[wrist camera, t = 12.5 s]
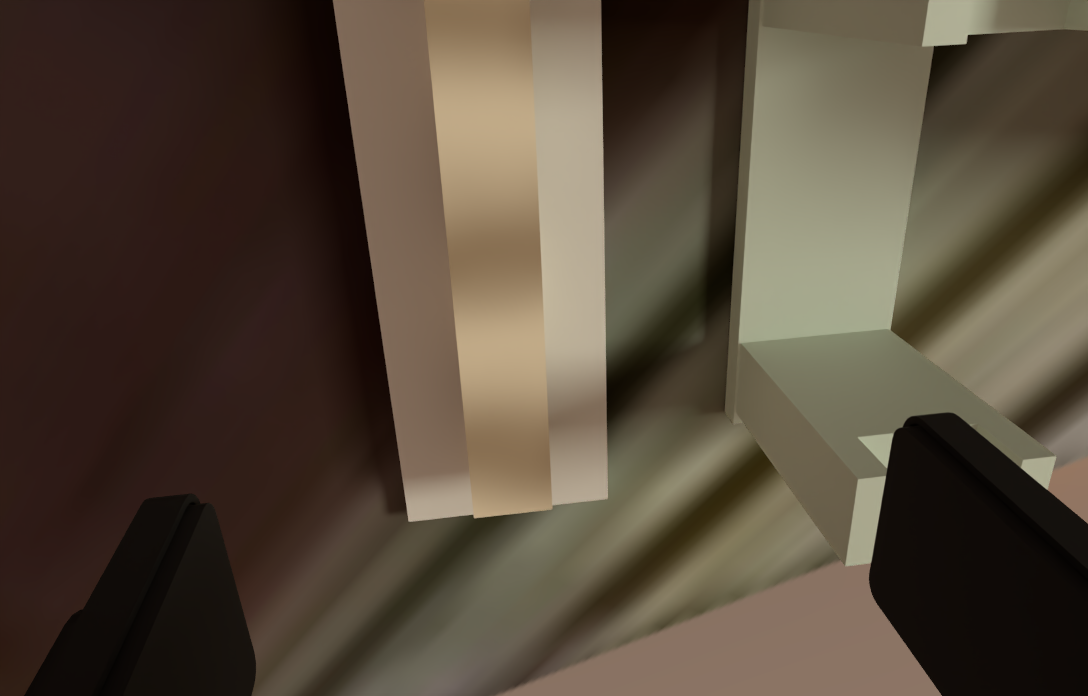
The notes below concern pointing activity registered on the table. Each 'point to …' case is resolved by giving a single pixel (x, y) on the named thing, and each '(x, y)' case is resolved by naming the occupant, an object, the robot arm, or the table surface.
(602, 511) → the table surface
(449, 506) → the felt mat
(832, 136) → the cradle stand
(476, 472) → the rail
